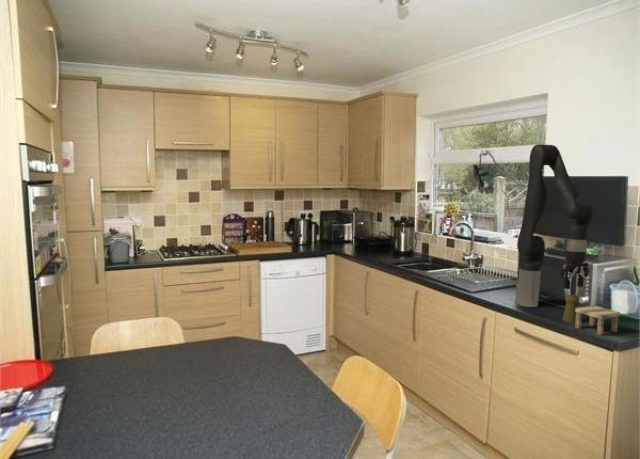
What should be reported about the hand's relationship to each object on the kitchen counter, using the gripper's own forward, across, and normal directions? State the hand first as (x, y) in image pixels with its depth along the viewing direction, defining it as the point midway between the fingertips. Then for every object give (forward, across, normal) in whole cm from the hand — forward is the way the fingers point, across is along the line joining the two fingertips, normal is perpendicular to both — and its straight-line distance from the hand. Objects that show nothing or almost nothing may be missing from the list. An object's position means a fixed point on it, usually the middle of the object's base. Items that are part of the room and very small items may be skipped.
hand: (573, 287), depth 196 cm
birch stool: (+14, +2, +12) cm, 19 cm away
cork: (+14, 0, 0) cm, 15 cm away
